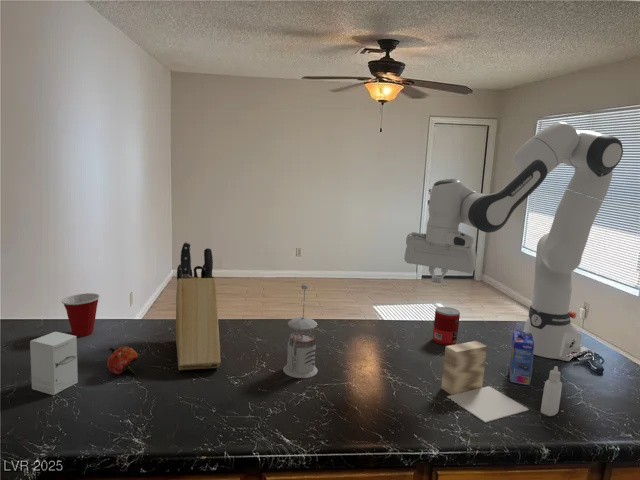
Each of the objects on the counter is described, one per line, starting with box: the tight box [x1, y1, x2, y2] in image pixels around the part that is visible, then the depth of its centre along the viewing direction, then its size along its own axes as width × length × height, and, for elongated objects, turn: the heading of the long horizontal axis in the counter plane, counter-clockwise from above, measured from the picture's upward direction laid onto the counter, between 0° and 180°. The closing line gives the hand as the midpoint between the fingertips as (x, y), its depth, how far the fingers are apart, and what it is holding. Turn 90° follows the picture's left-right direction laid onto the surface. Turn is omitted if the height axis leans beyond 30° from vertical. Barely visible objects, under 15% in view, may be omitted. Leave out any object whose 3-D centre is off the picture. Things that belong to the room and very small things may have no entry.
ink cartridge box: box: [508, 326, 534, 386], centre depth 138 cm, size 10×6×14 cm, turn 161°
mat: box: [447, 385, 530, 424], centre depth 123 cm, size 15×13×1 cm
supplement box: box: [29, 331, 79, 396], centre depth 118 cm, size 7×7×13 cm
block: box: [440, 340, 488, 395], centre depth 130 cm, size 11×4×12 cm, turn 118°
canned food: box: [432, 306, 461, 346], centre depth 163 cm, size 8×8×11 cm
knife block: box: [175, 241, 221, 371], centre depth 143 cm, size 11×35×31 cm, turn 18°
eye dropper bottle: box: [540, 366, 563, 417], centre depth 120 cm, size 4×6×12 cm
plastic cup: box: [61, 292, 101, 338], centre depth 152 cm, size 11×11×12 cm
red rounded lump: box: [107, 346, 139, 376], centre depth 128 cm, size 7×7×10 cm
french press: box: [282, 283, 318, 379], centre depth 133 cm, size 10×12×25 cm
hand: (436, 282), depth 141 cm, fingers closed
